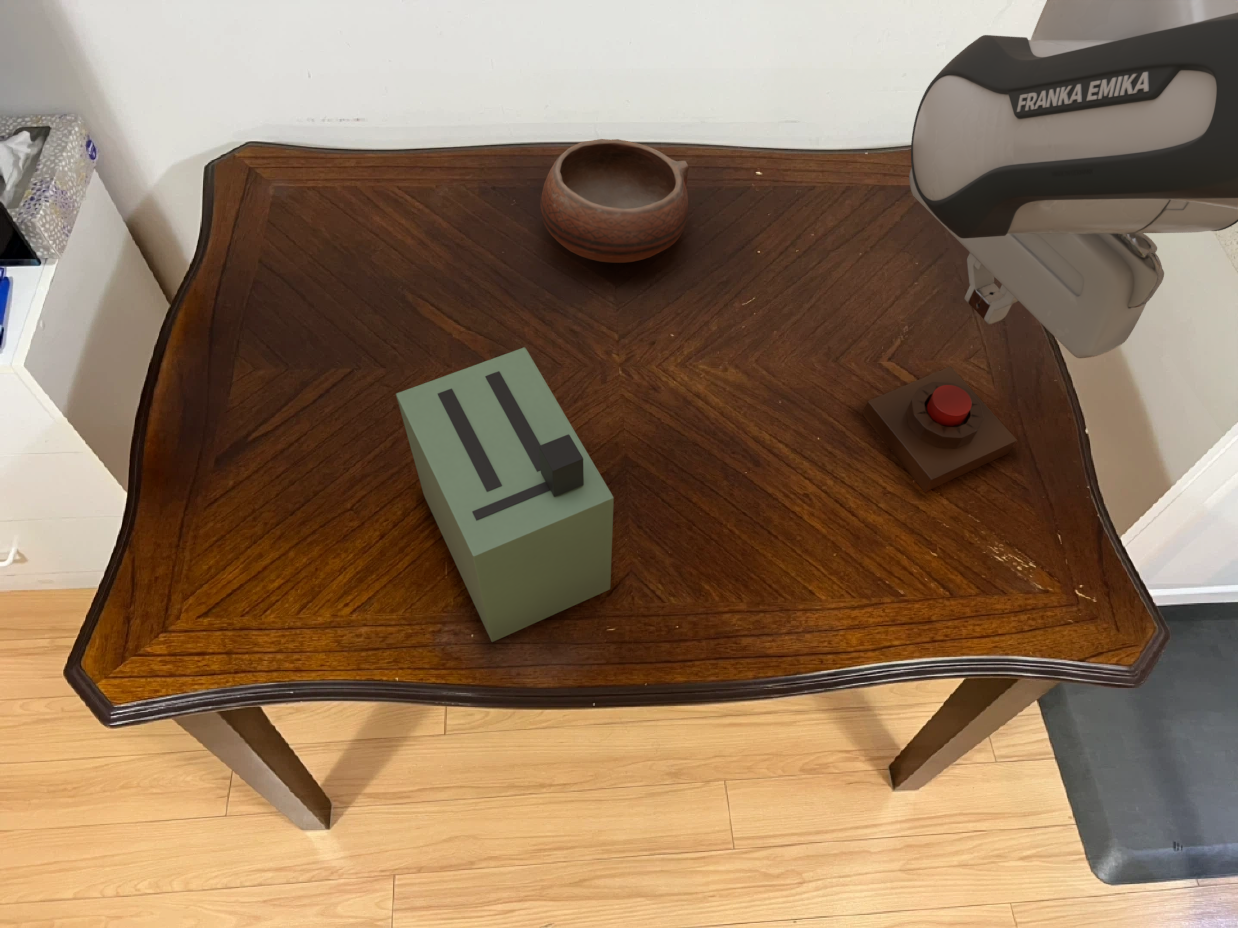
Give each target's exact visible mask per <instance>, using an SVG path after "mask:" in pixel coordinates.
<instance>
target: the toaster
mask: <svg viewBox="0 0 1238 928" xmlns="http://www.w3.org/2000/svg"><path fill="white" fill-rule="evenodd" d="M395 396H396V397H395V398H396V400H397V403H398V407H399V411H400V414H401V418H402V421H403V425H404V428H405V432H406V436H407V439H408V443H409V446H410V450H411V453H412V457H413V461H414V464H415V465H414V466H415V468H416V472H417V475H418V479H419V482H420V487H421V490H422V493H423V497H424V499H425V501H426V503H427V505H428V507H429V510H430V512H431V515H432V516H433V519H434V520H435V523H436V525H437V527H438V529H439V531H440V533H441V535H442V538H443V540H444V542H445V544H446V546H447V549H448V551H449V552H450V555H451V557H452V559H453V562H454V563H455V566H456V568H457V570H458V573H459V574H460V577H461V578H462V581H463V583H464V585H465V588H466V590H467V592H468V594H469V596H470V598H471V600H472V602H473V605H474V607H475V609H476V612H477V613H478V615H479V618H480V620H481V622H482V624H483V626H484V629H485V630H486V633H487V635H488V637H489V639H490V641H491V642H492V643H493V642H496V641H498V640H500V639H502V638H505V637H507V636H510V635H511V634H514V633H516V632H519V631H520V630H523V629H525V628H527V627H530V626H531V625H532V626H533V625H534V624H536V623H539V622H541V621H543V620H545V619H547V618H549V617H552V616H554V615H556V614H559V613H561V612H563V611H565V610H567V609H570V608H572V607H574V606H576V605H579V604H581V603H583V602H585V601H587V600H590V599H592V598H594V597H596V596H598V595H601V594H603V593H605V592H607V591H610V590H611V585H612V584H611V581H612V559H613V557H612V553H613V531H614V530H613V526H614V503H615V502H614V500H615V497H614V495H613V494H612V492H611V490H610V488H609V487H608V485H607V484H606V482H605V480H604V478H603V477H602V475H601V474H600V471H599V470H598V468H597V467H596V465H595V463H594V461H593V460H592V458H591V456H590V455H589V453H588V451H587V450H586V448H585V446H584V444H583V443H582V441H581V439H580V437H579V436H578V435H577V433H576V431H575V429H574V427H573V426H572V424H571V422H570V421H569V419H568V418H567V416H566V414H565V412H564V411H563V409H562V406H561V405H560V404H559V402H558V400H557V398H556V397H555V395H554V393H553V392H552V390H551V388H550V387H549V386H548V384H547V382H546V380H545V379H544V376H543V375H542V373H541V371H540V370H539V368H538V367H537V364H536V363H535V361H534V359H533V358H532V356H531V355H530V353H529V351H528V349H527V347H525V346H524V347H522V348H519V349H516V350H513V351H510V352H508V353H505V354H502V355H500V356H499V355H498V356H497V357H494V358H490V359H488V360H485V361H482V362H480V363H477V364H474V365H471V366H469V367H466V368H464V369H463V368H462V369H461V370H460V369H459V370H458V371H455V372H452V373H449V374H446V375H444V376H441V377H438V378H435V379H433V380H429V381H427V382H424V383H422V384H419V385H416V386H414V387H410V388H408V389H405V390H402V391H399V392H396V393H395ZM568 434H569V435H570V437H571V438H572V440H573V442H574V443H575V445H576V447H577V449H578V450H579V452H580V454H581V455H582V457H583V475H584V485H583V486H580V487H578V488H575V489H573V490H571V491H568V492H566V493H563V494H561V495H558V496H556V497H554V496H553V494H552V492H551V490H550V489H549V487H548V485H547V483H546V481H545V480H544V478H543V476H542V474H541V468H540V455H539V446H540V445H542V444H545V443H547V442H550V441H553V440H555V439H558V438H560V437H563V436H565V435H568Z"/></svg>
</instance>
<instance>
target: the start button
mask: <svg viewBox="0 0 1238 928" xmlns="http://www.w3.org/2000/svg"><path fill="white" fill-rule="evenodd" d="M971 406H972V401H971V398H970V396H969V395H968V394H967V393H966V392H965V391H964V390H963V389H961V388H959V387H957V386H953V385H943V386H940V387H938V388H937V389H936V390H935V391H934V392H933V394H932V396H931V398H930V400H929V403H928V405H927V411H928V414H929V416H930V417H931V418H932V419H933V420H934V421H935V422H936V423H938V424H940V425H943V426H948V427H952V426H957V425H959V424H961V423H962V422H963V421H964V420H965V418H966V416H967V415H968V413H969V411H970V409H971Z"/></svg>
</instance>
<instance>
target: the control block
mask: <svg viewBox="0 0 1238 928" xmlns="http://www.w3.org/2000/svg"><path fill="white" fill-rule="evenodd" d="M943 385H953V386H957V387H959V388H961V389H963V390H964V391H965V392H966V393H967V394H968V395H969V396H970V398H971V401H972V406H971V409H970V411H969V413H968V415H967V416H966V418H965V420H964V421H963V422H962V423H961V424H959V425H957V426H952V427H948V426H943V425H940V424H938V423H936V422H935V421H934V420H933V419H932V418H931V417H930V416H929V414H928V411H927V405H928V403H929V400H930V398H931V396H932V394H933V392H934V391H935V390H936V389H937V388H938V387H940V386H943ZM862 417H864V419H865V420H866V421H867V422H868V423H869V425H870V426H871V427H872V429H873V430H874V431H875V432H876V433H877V435H878V436H879V438H880V439H881V440H882V441H883V442H884V444H885V445H886V446H887V447H888V449H889V450H890V451H891V452H892V454H893V455H894V456H895V457H896V459H897V460H898V461H899V462H900V463H901V465H902V466H903V468H904V469H905V470H906V471H907V472H908V474H909V475H910V476H911V477H912V479H913V480H914V481H915V483H917V485H918V486H919V487H920V489H921V490H922V491H923V492H924V493H926V492H928V491H930V490H933V489H935V488H937V487H939V486H942V485H944V484H946V483H948V482H951V481H953V480H955V479H957V478H959V477H961V476H963V475H965V474H967V473H970V472H971V471H975V470H976V469H978V468H980V467H984V466H985V465H987V464H990V463H991V462H993V461H996V460H998V459H1000V458H1002V457H1004V456H1006V455H1009V454H1010V452H1011V451H1012V449H1013V448H1014V446H1015V445H1016V443H1017V442H1018V440H1017V439H1016V437H1015V436H1014V435H1013V434H1012V433H1011V432H1010V431H1009V429H1008V428H1007V427H1006V426H1005V425H1004V424H1003V423H1002V421H1001V420H1000V419H998V417H997V416H996V415H995V414H994V412H992V410H991V409H990V408H989V407H988V406H987V404H985V402H983V400H981V398H980V397H979V395H977V393H975V391H974V390H973V389H972V388H971V387H970V386H969V384H968V383H966V381H965V380H964V378H962V376H960V374H959V373H958V372H957V371H956V370H955V369H954V368H953V367H952V366H951V365H950V366H947V367H946V368H943V369H939V370H938V371H936V372H933V373H931V374H929V375H926V376H924V377H921V378H919V379H916V380H914V381H912V382H910V383H907V384H905V385H903V386H900V387H897V388H895V389H893V390H890V391H888V392H886V393H883V394H881V395H879V396H877V397H874V398H872V399H869V400H867V402H866V405H865V407H864V410H863V412H862Z"/></svg>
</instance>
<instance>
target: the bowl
mask: <svg viewBox="0 0 1238 928" xmlns="http://www.w3.org/2000/svg"><path fill="white" fill-rule="evenodd" d="M689 169H690V166H689V165H688V163H687V161H686V160H679V161H678V160H677V161H676V160H675V159H672V158H670V157H669V156H668V155H666V154H664V153H663V152H662V151H660V150H658V149H655V148H653V147H651V146H648V145H645V144H642V143H638V142H633V141H629V140H624V139H618V138H615V139H614V138H613V139H607V138H599V139H593V140H585V141H580V142H578V143H576V144H574V145H572V146H569V147H568V148H566V150H565V151H563V152H562V153H561V154H560V155H558V157H557V158H556V160H555V161H554V162H553V165H552V166H551V168H550V170H549V171H548V174H547V176H546V178H545V181H544V184H543V187H542V190H541V192H542V193H541V196H540V212H541V213H540V214H541V219H542V223H543V224H544V226H545V228H546V230H547V231H548V233H549V234H550V235H551V237H553V239H555V241H556V242H558V243H559V244H560V245H561V246H562V247H563V248H565V249H566V250H568V251H569V252H571V253H573V254H575V255H577V256H579V257H582V258H586V259H587V260H592V261H595V262H601V263H602V262H603V263H614V264H616V263H617V264H618V263H619V264H621V263H623V264H624V263H633V262H637V261H641V260H642V261H643V260H646V259H649V258H651V257H653V256H655V255H658V254H659V253H661V252H664V251H665V250H667V249H669V248H670V247H671V246H672V245H674V244H675V243H676V242H677V241H678V240H679V239H680V237H681V235H682V234H683V233H684V230H685V229H686V225H687V222H688V217H689V205H690V204H689V196H688V195H689V194H688V190H687V184H688V176H689V174H688V173H689Z"/></svg>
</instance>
